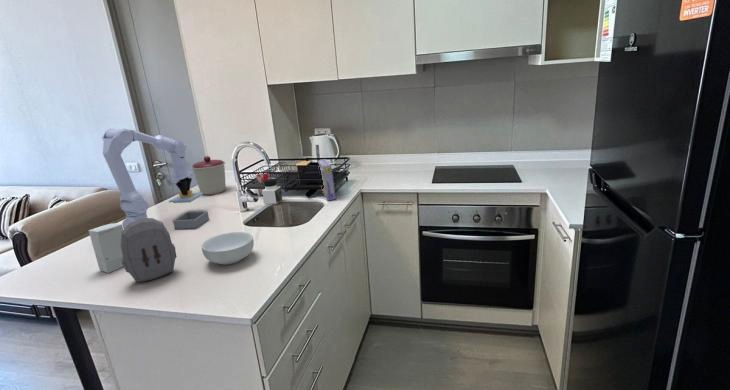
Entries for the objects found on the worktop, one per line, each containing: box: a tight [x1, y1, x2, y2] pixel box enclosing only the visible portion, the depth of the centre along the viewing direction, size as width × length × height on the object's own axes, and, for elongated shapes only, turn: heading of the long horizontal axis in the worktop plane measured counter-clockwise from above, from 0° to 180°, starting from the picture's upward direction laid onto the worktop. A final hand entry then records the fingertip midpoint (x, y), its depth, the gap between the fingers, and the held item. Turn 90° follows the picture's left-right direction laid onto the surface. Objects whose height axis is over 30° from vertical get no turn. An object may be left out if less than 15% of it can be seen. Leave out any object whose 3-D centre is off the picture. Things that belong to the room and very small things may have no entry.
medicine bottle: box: [261, 177, 283, 205], centre depth 191 cm, size 7×7×12 cm
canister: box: [190, 155, 227, 196], centre depth 216 cm, size 18×18×21 cm
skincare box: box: [88, 222, 125, 274], centre depth 130 cm, size 8×6×15 cm
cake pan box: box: [317, 158, 337, 201], centre depth 194 cm, size 19×5×18 cm, turn 14°
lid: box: [168, 189, 204, 204], centre depth 180 cm, size 12×11×4 cm
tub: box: [172, 210, 210, 230], centre depth 168 cm, size 11×10×4 cm
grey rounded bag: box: [120, 217, 178, 283], centre depth 119 cm, size 15×8×20 cm, turn 127°
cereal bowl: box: [201, 231, 255, 266], centre depth 130 cm, size 17×17×7 cm
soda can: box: [256, 172, 271, 196], centre depth 206 cm, size 7×7×12 cm
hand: (186, 194), depth 180 cm, fingers closed on lid
